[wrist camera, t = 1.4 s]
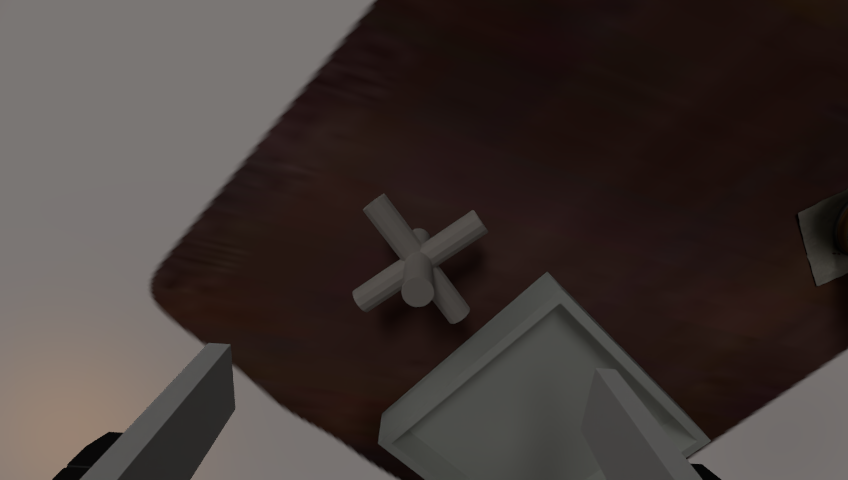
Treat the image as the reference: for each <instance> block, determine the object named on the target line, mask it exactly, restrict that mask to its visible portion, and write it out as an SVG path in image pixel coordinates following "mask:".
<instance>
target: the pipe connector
mask: <svg viewBox="0 0 848 480" xmlns="http://www.w3.org/2000/svg"><path fill="white" fill-rule="evenodd" d="M363 211H364V212H365V214H366V215H367V216H368V218H369V219H370V220H371V222H372V223H373V224H374V225H375V227H376V228H377V229H378V231H379V232H380V233H381V234H382V236H383V237H384V238H385V240H386V241H387V242H388V243H389V245H390V246H391V247H392V249H393V250H394V251H395V253H396V254H397V255H398V256H399V258H400V260H398V261H397V262H395V263H394V264H392V265H391V266H389V267H388V268H386V269H385V270H383V271H382V272H380V273H379V274H377V275H376V276H375V277H373V278H372V279H370V280H369V281H367V282H366V283H364V284H363V285H361V286H360V287H358V288H357V289H355V290H354V291H353V297H354V300H355V302H356V303H357V305H358V306H359V307H360V308H361V309H362V310H363V311H365V312H368V311H369V310H371V309H373V308H374V307H376V306H377V305H379V304H380V303H382V302H383V301H385V300H386V299H388V298H389V297H391V296H392V295H394V294H395V293H397V292H398V291H400V290H401V289H402V297H403V299H404V301H405V302H406V303H407V304H409V305H411V306H414V307H422V306H425V305H427V304H428V303H429V302H430V301H431V300H433V302H434V303H435V304H436V306H437V307H438V308H439V309H440V311H441V312H442V313H443V315H444V316H445V317H446V318H447V320H448V321H449V322H450V324H455V323H457V322H459V321H461V320H462V319H464V318H465V317H466V316H467V314H468V313H469V310H470V307H469V306H468V305H467V303H466V302H465V301H464V299H463V298H462V297H461V295H460V294H459V293H458V291H457V290H456V289H455V287H454V286H453V285H452V283H451V282H450V281H449V279H448V278H447V277H446V275H445V274H444V273H443V271H442V270H441V269H440V267H439V266H438V265H439V264H441V263H442V262H444V261H445V260H447V259H448V258H450V257H451V256H453V255H454V254H456V253H457V252H459V251H460V250H462V249H463V248H465V247H466V246H468V245H470V244H471V243H473V242H474V241H476V240H477V239H479V238H480V237H482V236H483V235H485V234H486V233H488V231H487V229H486V228H485V226H484V225H483V223H482V222H481V220H480V219H479V217H478V216H477V214H476V213H475V211H474V210H472V211H471V212H469V213H468V214H466V215H465V216H463V217H462V218H460V219H459V220H457V221H456V222H454V223H453V224H451V225H450V226H448V227H447V228H445V229H444V230H443V231H441V232H440V233H438V234H437V235H435V236H434V237H432V238H431V239H430V235H429V234H428V232H427V231H425V230H424V229H419V228H418V229H414V230H411V228H410V227H409V226H408V224H407V223H406V222H405V220H404V219H403V218H402V216H401V215H400V214H399V212H398V211H397V210H396V208H395V207H394V206H393V204H392V203H391V202H390V200H389V199H388V198H387V196H386V195H385V194H383V195H381V196H379V197H378V198H377V199H375V200H374V201H372V202H371V203H370V204H369V205H367V206H366V207H365V208H364V209H363Z"/></svg>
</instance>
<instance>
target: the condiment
mask: <svg viewBox="0 0 848 480" xmlns="http://www.w3.org/2000/svg"><path fill="white" fill-rule="evenodd" d="M837 207H839V208H837ZM798 216H799V220H800V223H799V224H800V227H801V232H802V235H803V241H804V244H805V248H806V251H807V258H808V259H809V261H810V264H811V268H812V273H813V275H814V278H815V281H816V285H817V286H819V285H821V284H824V283H827V282H829V281H831V280H833V279H835V278H837V277H841V276H843V275H844V274H846V273H848V189H846V190H845V191H843V192H841V193H838V194H836V195H834V196H832V197H830V198H827V199H825V200H823V201H821V202H819V203H817V204H816V205H814V206H812V207H810V208H808V209H806V210H803V211H801V212H799V213H798ZM832 252H835V253H836V254H835V255H833V254H832ZM837 253H840V255H837Z"/></svg>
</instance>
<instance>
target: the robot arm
mask: <svg viewBox="0 0 848 480" xmlns="http://www.w3.org/2000/svg"><path fill="white" fill-rule="evenodd" d="M234 410H235V399H234V385H233V371H232V357H231V344H215V343H208V344H207V345H206V346H205V347H204V348H203V349H202V351H201V352H200V353H199V354H198V355H197V356H196V357H195V358H194V359H193V360H192V361H191V362H190V363H189V364H188V365H187V366H186V367H185V369H184V370H183V371H182V372H181V373H180V374H179V375H178V376H177V377H176V378H175V379H174V380H173V381H172V382H171V383H170V384H169V385H168V387H167V388H166V389H165V390H164V391H163V392H162V393H161V394H160V395H159V396H158V397H157V398H156V399H155V400H154V401H153V402H152V403H151V405H150V406H149V407H148V408H147V409H146V410H145V411H144V412H143V413H142V414H141V415H140V416H139V417H138V418H137V419H136V420H135V421H134V423H133V424H132V425H131V426H130V427H129V428H128V429H127V430H126V431H125V432H124V433H117V432H108V433H107V434H105V435H103V436H102V437H100V438H98V439H97V440H95V441H94V442H92V443H91V444H89V445H87V446H86V447H85V448H84V449H83V450H82V451H81V452H80V453H79V454H78V455H77V456H76V457H74V458H73V459H72V461H70V462H69V463H68V466H67V467H66V468H63V469H62V470H61V471H60V472H59V473H58V474H57V475H56V476H55V477H54V478H53V479H52V480H190V479H191V478H192V476H193V475H194V473H195V471H196V470H197V468H198V466H199V465H200V464H201V462H202V460H203V458H204V457H205V455H206V454H207V452H208V451H209V449H210V448H211V446H212V445H213V443H214V442H215V440H216V438H217V437H218V435H219V434H220V432H221V430H222V429H223V427H224V426H225V424H226V423H227V421H228V420H229V418H230V416H231V415H232V413H233V412H234ZM580 430H581V432H582V434H583V436H584V437H585V439H586V441H587V443H588V445H589V447H590V449H591V451H592V453H593V455H594V457H595V459H596V461H597V462H598V464H599V466H600V468H601V470H602V472H603V474H604V476H605V478H606V480H721V479H720V478H718V477H717V476H716V475H715V474H713V473H712V472H711V471H710V470H708V469H707V468H706V467H704V466H703V465H702V464H690V463H689V462H688V460H687V459H686V458H685V457H684V455H683V454H682V453H681V452H680V450H679V449H678V448H677V446H676V445H675V444H674V443H673V441H672V440H671V439H670V438H669V436H668V435H667V434H666V432H665V431H664V430H663V429H662V427H661V426H660V425H659V424H658V422H657V421H656V420H655V418H654V417H653V416H652V415H651V413H650V412H649V411H648V410H647V408H646V407H645V406H644V404H643V403H642V402H641V401H640V399H639V398H638V397H637V396H636V394H635V393H634V392H633V391H632V389H631V388H630V387H629V385H628V384H627V383H626V382H625V380H624V379H623V378H622V377H621V375H620V374H619V373H618V371H617V370H616V369H601V368H595V372H594V376H593V380H592V384H591V388H590V392H589V396H588V400H587V404H586V408H585V412H584V416H583V420H582V424H581V429H580Z"/></svg>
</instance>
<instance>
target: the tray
mask: <svg viewBox="0 0 848 480" xmlns="http://www.w3.org/2000/svg"><path fill="white" fill-rule="evenodd" d="M595 368H601V369H616V370H617V371H618V373H619V374H620V375H621V377H622V378H623V379H624V380H625V382H626V383H627V384H628V385H629V387H630V388H631V389H632V391H633V392H634V393H635V394H636V396H637V397H638V398H639V399H640V401H641V402H642V403H643V404H644V406H645V407H646V408H647V410H648V411H649V412H650V413H651V415H652V416H653V417H654V418H655V420H656V421H657V422H658V424H659V425H660V426H661V427H662V429H663V430H664V431H665V432H666V434H667V435H668V436H669V438H670V439H671V440H672V441H673V443H674V444H675V445H676V446H677V448H678V449H679V450H680V452H681V453H682V454H683V455H684V457H685V458H686V457H688V456H689V455H691V454H692V453H694V452H695V451H697V450H698V449H700V448H701V447H703V446H704V445H706V444H707V443H709V442H710V441H711V440H710V439H709V438H708V437H707V436H706V435H705V434H704V432H703V431H702V430H701V429H700V428H699V427H698V426H697V425H696V424H695V422H694V421H693V420H692V419H691V418H690V417H689V416H688V415H687V414H686V412H685V411H684V410H683V409H682V408H681V407H680V406H679V405H678V404H677V403H676V402H675V401H674V400H673V399H672V398H671V397H670V396H669V395H668V394H667V393H666V392H665V391H664V390H663V389H662V388H661V387H660V386H659V385H658V384H657V383H656V382H655V381H654V380H653V379H652V378H651V377H650V376H649V375H648V374H647V373H646V372H645V371H644V370H643V369H642V368H641V367H640V366H639V364H638V363H637V362H636V361H635V360H634V359H633V358H632V357H631V356H630V355H629V354H628V353H627V352H626V351H625V350H624V349H623V348H622V347H621V346H620V345H619V344H618V343H617V342H616V341H615V340H614V339H613V338H612V337H611V336H610V335H609V334H608V333H607V332H606V331H605V330H604V329H603V328H602V327H601V326H600V325H599V324H598V323H597V322H596V321H595V320H594V319H593V318H592V317H591V316H590V315H589V314H588V313H587V312H586V311H585V310H584V309H583V308H582V307H581V305H580V304H579V303H578V302H577V301H576V300H575V299H574V298H573V297H572V296H571V295H570V294H569V293H568V292H567V291H566V290H565V289H564V288H563V287H562V286H561V285H560V284H559V283H558V282H557V281H556V280H555V279H554V278H553V277H552V276H551V275H550V274H549V273H548V272H546V273H545V274H544V275H542V276H541V277H540V278H539V279H538V280H537V281H535V282H534V283H533V284H532V285H531V286H530V287H529V288H527V289H526V290H525V291H524V292H523V293H522V294H520V295H519V296H518V297H517V298H516V299H515V300H513V301H512V302H511V303H510V304H509V305H508V306H506V307H505V308H504V309H503V310H502V311H501V312H499V313H498V314H497V315H496V316H495V317H494V318H493V319H491V320H490V321H489V322H488V323H487V324H486V325H484V326H483V327H482V328H481V329H480V330H479V331H477V332H476V333H475V334H474V335H473V336H472V337H470V338H469V339H468V340H467V341H466V342H465V343H463V344H462V345H461V346H460V347H459V348H458V349H457V350H455V351H454V352H453V353H452V354H451V355H450V356H448V357H447V358H446V359H445V360H444V361H443V362H441V363H440V364H439V365H438V366H437V367H436V368H434V369H433V370H432V371H431V372H430V373H429V374H427V375H426V376H425V377H424V378H423V379H422V380H421V381H419V382H418V383H417V384H416V385H415V386H414V387H412V388H411V389H410V390H409V391H408V392H407V393H405V394H404V395H403V396H402V397H401V398H400V399H398V400H397V401H396V402H395V403H394V404H393V405H391V406H390V407H389V408H388V409H387V410H386V411H385V412H383V413H382V417H381V425H380V432H379V439H378V444H379V445H380V446H382V447H383V448H384V449H386V450H387V451H388V452H390V453H391V454H392V455H394V456H395V457H396V458H398V459H399V460H400V461H401V462H403V463H404V464H405V465H407V466H408V467H409V468H411V469H412V470H413V471H415V472H416V473H417V474H419V475H420V476H421V477H422V478H424V479H425V480H606V478H605V476H604V474H603V472H602V470H601V468H600V466H599V464H598V462H597V461H596V459H595V457H594V455H593V453H592V451H591V449H590V447H589V445H588V443H587V441H586V439H585V437H584V436H583V434H582V432H581V430H580V429H581V424H582V420H583V416H584V412H585V408H586V404H587V400H588V396H589V392H590V388H591V384H592V380H593V376H594V372H595Z"/></svg>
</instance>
